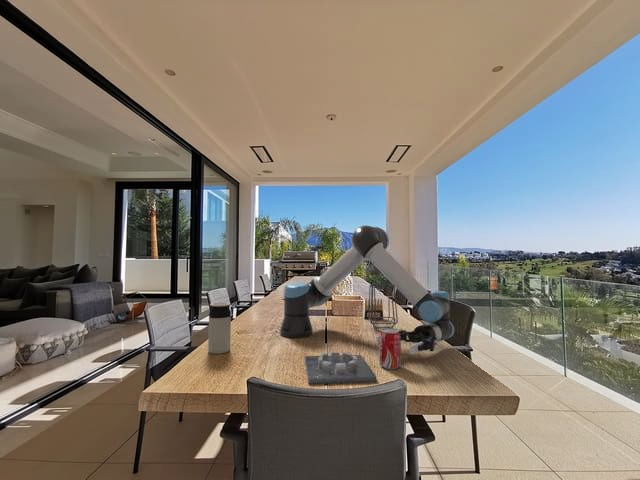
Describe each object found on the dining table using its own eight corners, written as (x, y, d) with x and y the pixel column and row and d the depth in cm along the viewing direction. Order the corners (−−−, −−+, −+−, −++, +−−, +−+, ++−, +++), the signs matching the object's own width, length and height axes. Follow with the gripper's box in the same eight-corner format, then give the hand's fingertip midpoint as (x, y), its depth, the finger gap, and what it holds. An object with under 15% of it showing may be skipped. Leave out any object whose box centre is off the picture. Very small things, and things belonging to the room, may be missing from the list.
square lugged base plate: (308, 384, 91) (308, 370, 91) (304, 360, 111) (305, 349, 111) (376, 382, 93) (376, 368, 93) (360, 359, 113) (360, 347, 113)
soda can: (376, 363, 109) (376, 328, 110) (396, 362, 110) (396, 327, 110) (382, 370, 102) (382, 333, 102) (403, 370, 103) (403, 332, 103)
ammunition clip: (382, 318, 183) (382, 297, 183) (383, 319, 181) (383, 298, 182) (364, 318, 183) (364, 297, 183) (364, 319, 181) (364, 298, 181)
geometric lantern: (402, 333, 149) (400, 259, 150) (368, 334, 149) (367, 260, 150) (394, 325, 165) (393, 258, 166) (364, 326, 165) (363, 258, 166)
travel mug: (227, 354, 117) (228, 305, 118) (205, 354, 117) (206, 305, 117) (232, 347, 125) (233, 301, 126) (211, 348, 125) (212, 301, 125)
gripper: (459, 352, 111) (427, 366, 97) (399, 337, 130) (364, 347, 116) (459, 331, 111) (427, 341, 97) (399, 319, 130) (365, 326, 116)
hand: (393, 345), depth 106 cm, fingers open, 13 cm apart
